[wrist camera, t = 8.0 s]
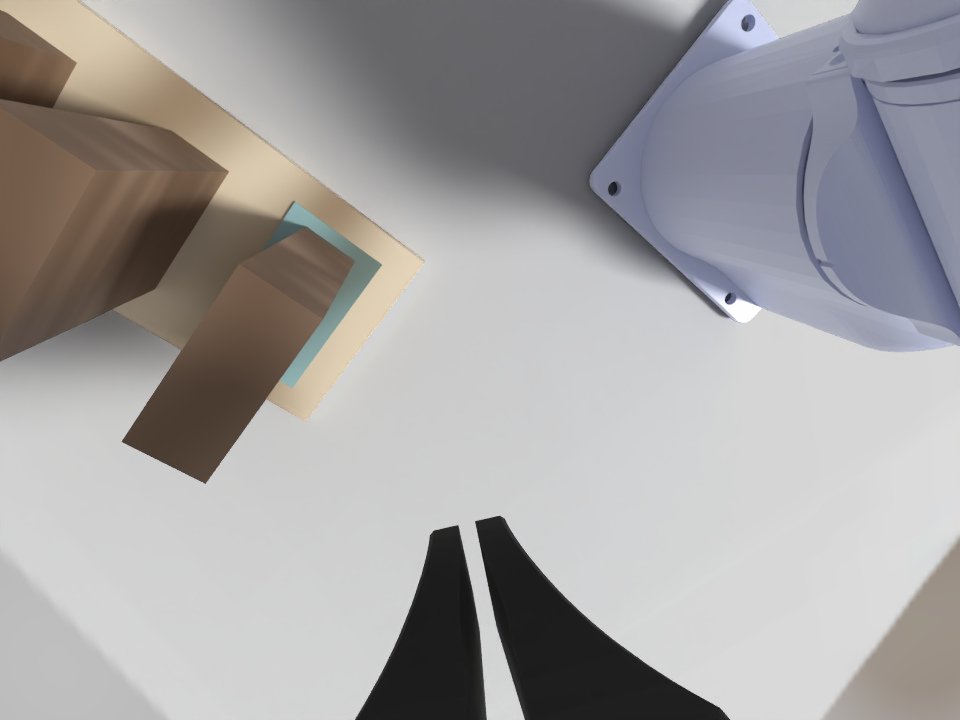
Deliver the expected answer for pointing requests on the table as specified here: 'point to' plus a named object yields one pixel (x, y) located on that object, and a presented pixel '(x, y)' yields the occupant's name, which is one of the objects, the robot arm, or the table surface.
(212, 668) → the table surface
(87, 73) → the board
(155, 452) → the domino
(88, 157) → the domino
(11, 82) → the domino
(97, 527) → the table surface
